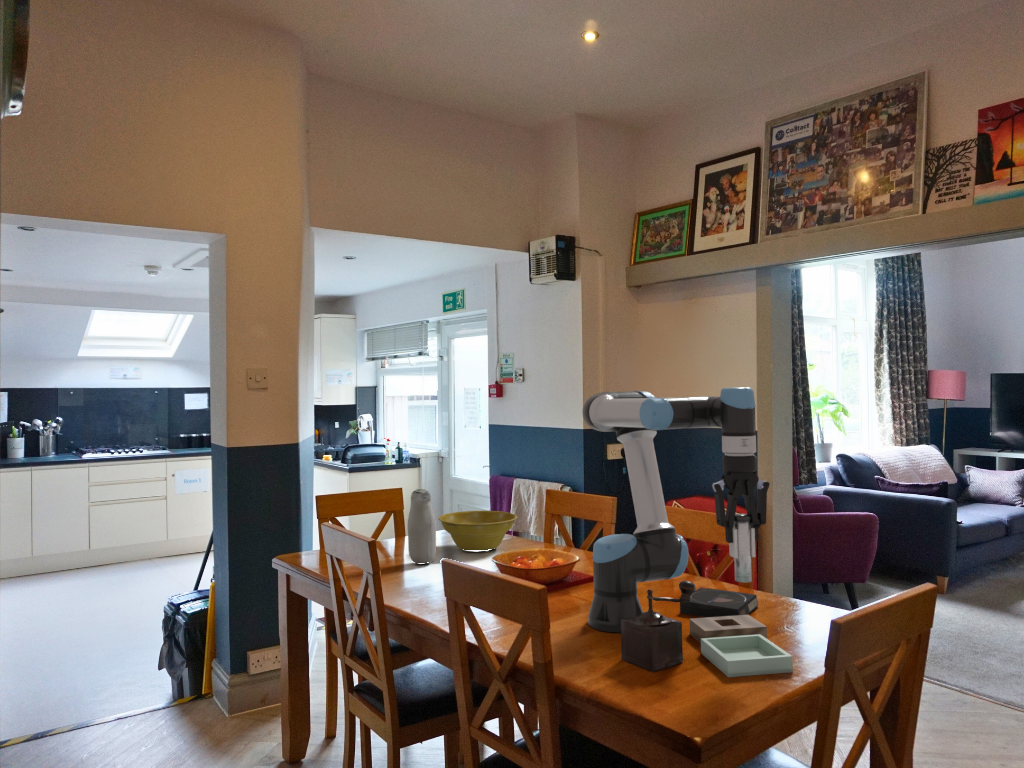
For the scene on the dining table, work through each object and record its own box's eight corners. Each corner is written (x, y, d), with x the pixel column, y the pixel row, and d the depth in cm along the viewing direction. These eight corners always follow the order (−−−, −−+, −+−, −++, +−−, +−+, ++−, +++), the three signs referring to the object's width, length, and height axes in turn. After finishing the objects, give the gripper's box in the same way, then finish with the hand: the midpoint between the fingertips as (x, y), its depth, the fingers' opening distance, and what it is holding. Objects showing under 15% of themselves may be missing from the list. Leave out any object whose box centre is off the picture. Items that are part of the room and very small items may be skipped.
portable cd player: (740, 624, 195) (740, 609, 195) (680, 614, 205) (679, 600, 205) (758, 608, 209) (758, 594, 209) (701, 600, 218) (700, 587, 218)
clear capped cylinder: (738, 583, 165) (737, 516, 165) (731, 578, 169) (729, 514, 169) (755, 582, 165) (753, 516, 165) (747, 577, 169) (745, 513, 169)
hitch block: (705, 647, 177) (704, 631, 177) (689, 634, 187) (689, 618, 187) (767, 642, 179) (766, 626, 179) (748, 630, 189) (748, 614, 189)
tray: (728, 677, 158) (727, 661, 158) (701, 653, 173) (700, 638, 173) (792, 672, 160) (792, 656, 160) (760, 648, 175) (760, 634, 175)
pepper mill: (654, 673, 161) (652, 592, 162) (620, 659, 170) (618, 582, 171) (701, 658, 170) (699, 581, 170) (666, 645, 179) (664, 572, 179)
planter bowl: (532, 545, 302) (531, 513, 302) (489, 561, 275) (488, 525, 275) (469, 538, 319) (468, 508, 319) (422, 553, 292) (422, 519, 292)
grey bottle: (441, 562, 275) (439, 488, 275) (424, 568, 266) (422, 491, 266) (421, 559, 280) (419, 487, 280) (403, 565, 271) (401, 490, 272)
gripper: (711, 456, 163) (714, 561, 162) (781, 454, 165) (784, 557, 164) (698, 454, 170) (701, 554, 170) (765, 451, 172) (768, 551, 172)
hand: (742, 556), depth 167 cm, fingers closed on clear capped cylinder, 3 cm apart
